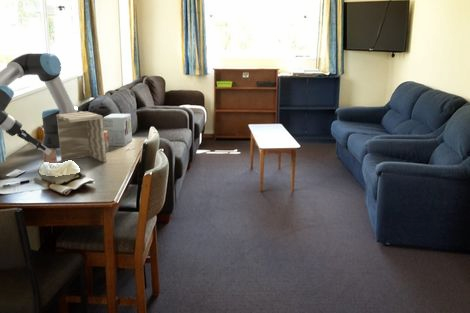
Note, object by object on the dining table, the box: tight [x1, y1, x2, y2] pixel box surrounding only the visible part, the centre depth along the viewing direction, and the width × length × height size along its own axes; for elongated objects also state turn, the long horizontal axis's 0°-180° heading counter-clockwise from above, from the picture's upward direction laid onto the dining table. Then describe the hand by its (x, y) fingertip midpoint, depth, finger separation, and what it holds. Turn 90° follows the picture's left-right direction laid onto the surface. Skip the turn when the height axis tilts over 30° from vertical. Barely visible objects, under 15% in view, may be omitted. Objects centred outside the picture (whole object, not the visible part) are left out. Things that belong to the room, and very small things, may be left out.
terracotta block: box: [42, 148, 58, 164], centre depth 240 cm, size 5×5×10 cm
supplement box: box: [103, 113, 133, 147], centre depth 297 cm, size 17×13×18 cm
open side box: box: [57, 111, 107, 163], centre depth 252 cm, size 21×17×26 cm
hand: (45, 150), depth 237 cm, fingers open, 13 cm apart
